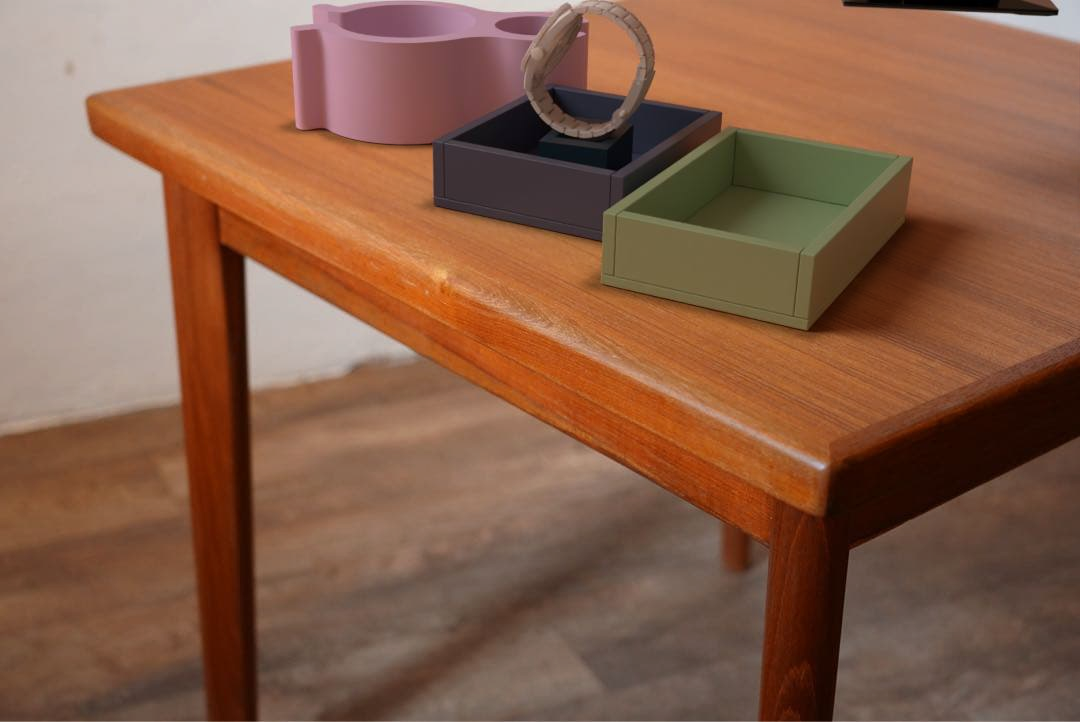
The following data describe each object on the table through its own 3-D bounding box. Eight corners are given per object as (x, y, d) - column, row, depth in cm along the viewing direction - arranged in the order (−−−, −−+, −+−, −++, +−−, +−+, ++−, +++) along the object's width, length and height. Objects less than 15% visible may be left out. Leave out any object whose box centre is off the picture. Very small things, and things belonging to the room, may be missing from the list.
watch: (538, 159, 94) (541, -12, 89) (658, 174, 91) (667, -1, 86) (507, 186, 89) (508, 7, 84) (632, 203, 87) (641, 20, 82)
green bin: (904, 222, 86) (913, 156, 84) (807, 331, 72) (815, 255, 70) (723, 188, 91) (728, 125, 89) (600, 283, 77) (602, 212, 75)
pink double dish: (589, 100, 108) (592, 7, 105) (578, 152, 97) (581, 50, 94) (326, 88, 109) (321, -4, 106) (285, 139, 98) (279, 38, 95)
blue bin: (718, 173, 94) (722, 111, 92) (620, 245, 82) (623, 177, 80) (547, 141, 99) (548, 82, 97) (433, 205, 87) (432, 140, 86)
